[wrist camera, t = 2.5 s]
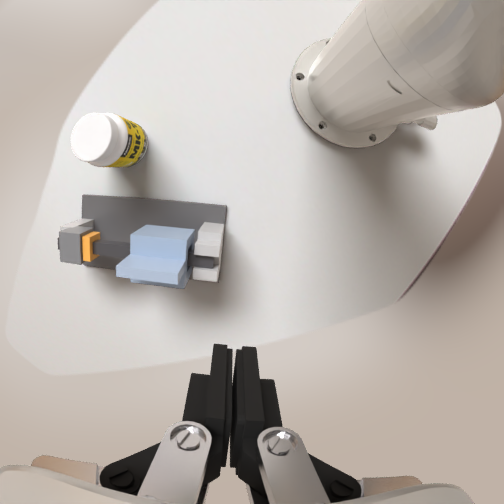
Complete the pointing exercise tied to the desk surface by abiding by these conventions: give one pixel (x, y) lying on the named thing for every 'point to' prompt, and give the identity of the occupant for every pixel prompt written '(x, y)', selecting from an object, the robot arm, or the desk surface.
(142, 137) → the supplement bottle
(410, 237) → the desk surface
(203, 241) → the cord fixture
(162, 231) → the light blue step block
